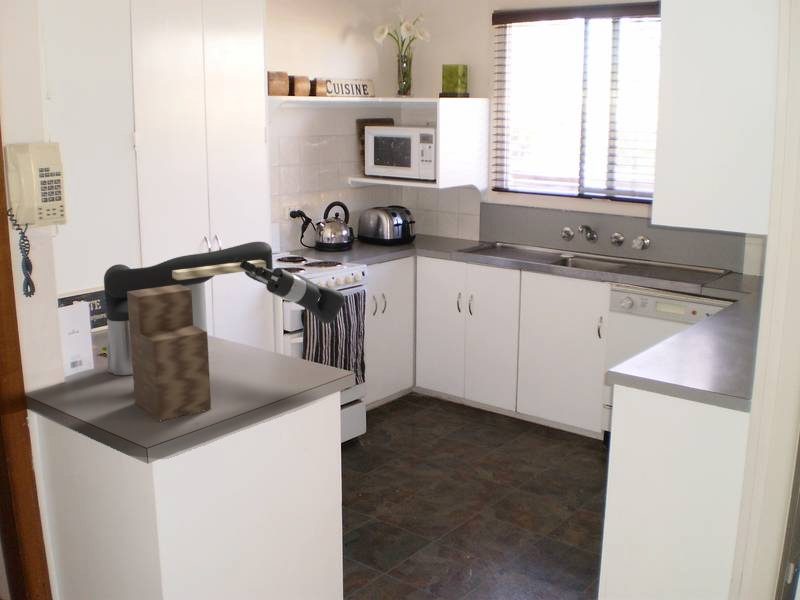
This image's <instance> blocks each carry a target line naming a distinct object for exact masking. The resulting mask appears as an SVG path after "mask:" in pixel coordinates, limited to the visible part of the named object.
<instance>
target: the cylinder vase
mask: <svg viewBox="0 0 800 600" xmlns="http://www.w3.org/2000/svg"><path fill="white" fill-rule="evenodd" d="M205 283H206V282H203V283H199V284H194V285H188V286H184V287H187V288H189V289H191V291H192V309H193V325H194V326H196V327H198V328H200V329H202V330H204V331H206V332H207V333H208V323H207V322H208V321H207V307H206V306H207V304H206V285H205Z"/></svg>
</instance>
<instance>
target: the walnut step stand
mask: <svg viewBox="0 0 800 600" xmlns="http://www.w3.org/2000/svg"><path fill="white" fill-rule="evenodd" d="M127 298H128V312H129V326H130V340H131V354H132V367H133V374H132V379H133V392H134V404H135V405H137V406H138V407H139V408H140V409H142V410H143V411H144V412H146V414H148V415H149V414H150V415H149V416H151V417H152V418H153V419H154V418H155V420H156V421H157V422H161V421H160V420H163V421H165V419H167V420H170V419H169V418H171V419H175V418H174V417H176V418H178V417H177V416H180V417H183V416H182V415H184V416H188V415H187V414H189V415H191V414H190V413H193V414H196V413H195V412H198V411H202V412H204V411H203V410H206V411H210V410H209V409H211V410H212V401H211V400H212V399H211V380H210V378H211V377H210V361H209V342H208V331H207V332H206V331H204V330H202V329H200V328H198V327H196V326H194V325H193V309H192V291H191V289H189V288H187V287H184V286H182V285H180V284H179V285H172V286H164V287H157V288H149V289H142V290H134V291H127ZM198 413H199V412H198Z"/></svg>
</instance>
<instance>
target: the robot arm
mask: <svg viewBox="0 0 800 600" xmlns="http://www.w3.org/2000/svg"><path fill="white" fill-rule="evenodd" d="M272 250H273V249H272V246H271V245H270V244H269V243H268V242H265V241H252V242H247V243H243V244H240V245H234V246H231V247H227V248H224V249H223V248H222V249H218V250H214V251H213V250H212V251H207V252H201V253H193V254H186V255H181V256H177V257H174V258H171V259H168V260H166V261H163V262H160V263H158V264H154V265H151V266H146V267H137V268H131V267H129V266H127V265H126V264H114V265H112V266H110V267H109V268H108V269H107V270H106V271H105V273H104V276H103V287H104V297H105V300H104V301H105V311H106V312H105V313H106V321H107V322H106V323H107V333H108V334H107V335H108V341H107V342H106V343H105V345H106V346H105V347H106V349H107V355H106V357H107V358H106V359H107V360H106V361H107V371H108V373H109V374H110V373H111V374H112V373H113V374H112V375H115V376H129V375H131V376H132V375H133V367H132V354H131V340H130V326H129V312H128V298H127V291H134V290H142V289H149V288H157V287H164V286H172V285H179V284H180V285H182V286H188V285H194V284H199V283H203V282H205V283H206V282H208V281H209V280H211V279H212V278H214V277H215V276H216V275H214V276H206V277H199V278H191V279H184V280H176V279H174V278H172V271H173V270H181V269H189V268H197V267H205V266H213V265H221V264H229V263H237V262H241V264H240V267H241V268H243V269H245V270H247V271H244V273H245V275H246V276H247V277H249V278H250V279H252V280H254V281H256V282H259V283H261V284H263V285H266V287H265V288H266V289H267V291H268V292H269V293H271V294H273V295H275V296H277V297H280V298H282V299H284V300H285V301H289V302H292V303H294V304H297V305H299V306H301V307H303V308H305V309H306V310H307V311H309V312H310V313H311V314H312V315H313V316H314V317H315V318H316V320H318V321H319V322H321V323H323V324H332V323H333V322H334V321H335V320H336V318H337V316H338V314H339V313H340V311H341V309H342V308H343V305H344V304H345V302H346V301H345V296H344V294H343V293H342V292H341V291H339V290H338V289H334V288H329V287H325V286H321V285H319V284H317V283H314V282H313V281H311V280H309V279H308V278H306V277H305V276H303V275H301V274H297V273H291V272H289V271H287V270H285V269H284V268H281V267H276V268H274V267H273V263H274V262H273V251H272ZM253 260H263V261H266V268H265V267H259V266H258V265H255V266H254V265H253V264H251V263H249V262H247V261H253Z"/></svg>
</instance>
